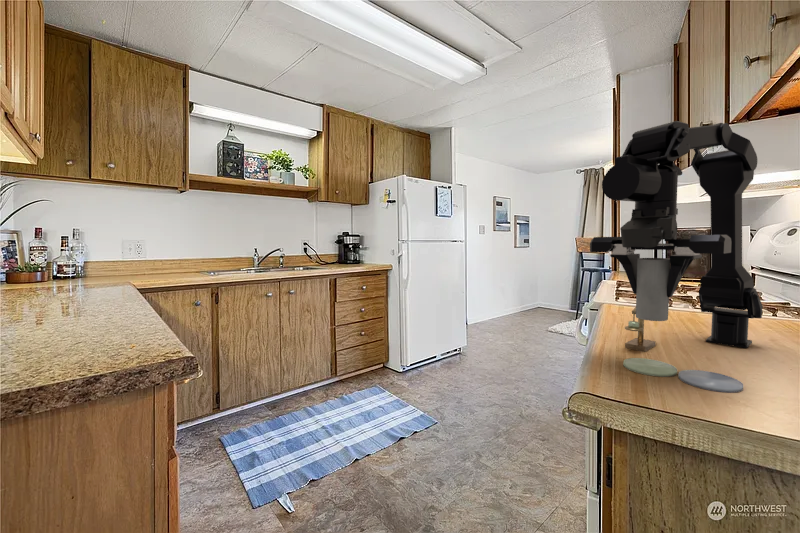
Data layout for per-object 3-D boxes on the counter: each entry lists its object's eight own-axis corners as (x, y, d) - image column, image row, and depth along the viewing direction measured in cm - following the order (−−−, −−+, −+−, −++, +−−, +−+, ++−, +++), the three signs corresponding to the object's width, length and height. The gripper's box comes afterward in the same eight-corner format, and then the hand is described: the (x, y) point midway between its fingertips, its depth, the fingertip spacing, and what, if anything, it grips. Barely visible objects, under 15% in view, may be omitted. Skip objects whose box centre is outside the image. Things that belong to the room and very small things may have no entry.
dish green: (632, 358, 67) (632, 355, 67) (682, 369, 61) (683, 365, 61) (616, 367, 62) (616, 364, 62) (668, 380, 57) (669, 376, 56)
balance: (639, 340, 79) (641, 294, 78) (659, 343, 76) (661, 296, 76) (620, 350, 72) (621, 300, 72) (640, 354, 69) (642, 302, 69)
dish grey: (685, 370, 61) (685, 366, 61) (747, 383, 55) (747, 379, 55) (672, 381, 56) (672, 377, 56) (737, 397, 50) (738, 393, 50)
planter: (659, 316, 63) (661, 257, 62) (673, 321, 59) (676, 259, 58) (631, 315, 64) (632, 257, 63) (642, 321, 60) (644, 259, 59)
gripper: (576, 205, 62) (574, 294, 63) (717, 193, 48) (712, 309, 49) (603, 208, 69) (601, 288, 70) (734, 198, 55) (729, 299, 56)
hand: (652, 295), depth 61 cm, fingers closed on planter, 4 cm apart
